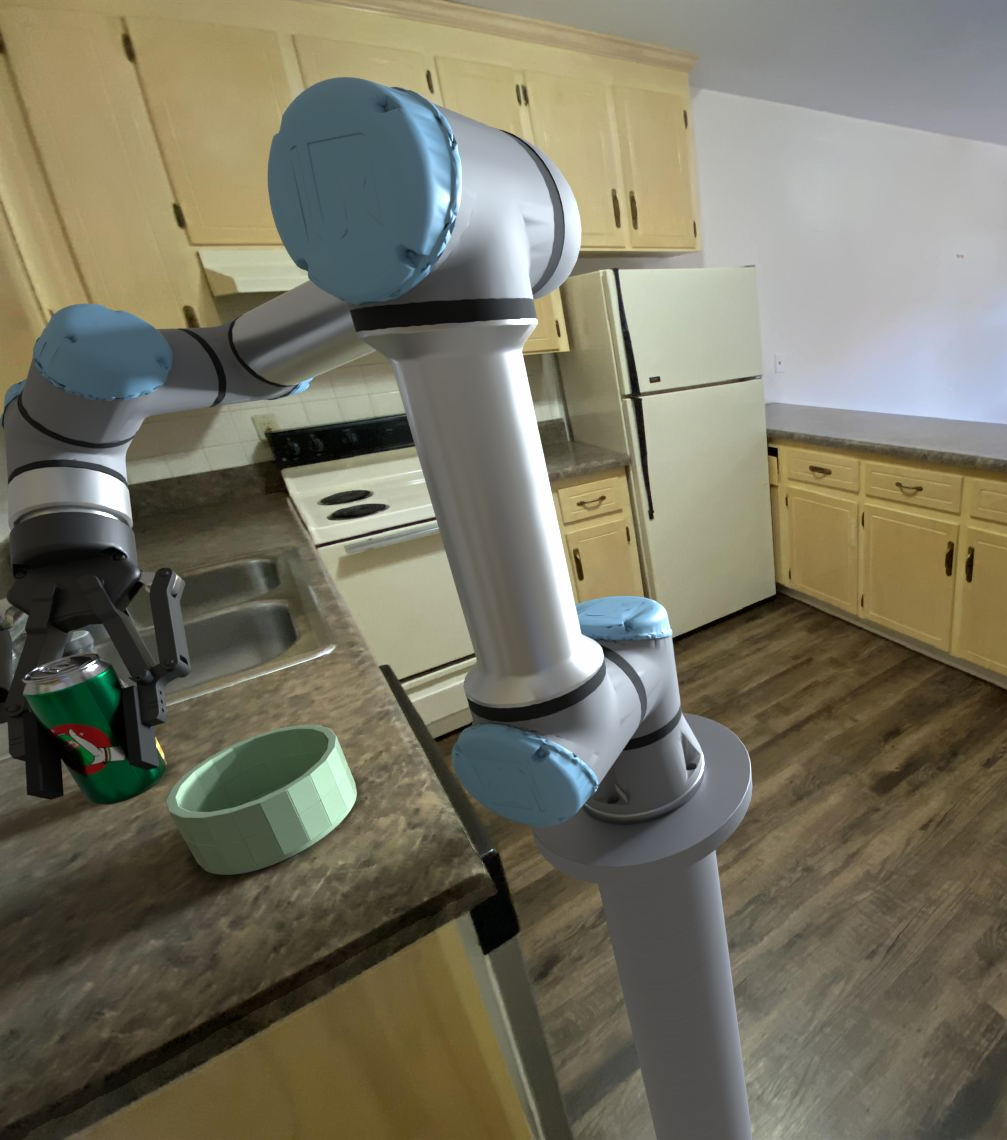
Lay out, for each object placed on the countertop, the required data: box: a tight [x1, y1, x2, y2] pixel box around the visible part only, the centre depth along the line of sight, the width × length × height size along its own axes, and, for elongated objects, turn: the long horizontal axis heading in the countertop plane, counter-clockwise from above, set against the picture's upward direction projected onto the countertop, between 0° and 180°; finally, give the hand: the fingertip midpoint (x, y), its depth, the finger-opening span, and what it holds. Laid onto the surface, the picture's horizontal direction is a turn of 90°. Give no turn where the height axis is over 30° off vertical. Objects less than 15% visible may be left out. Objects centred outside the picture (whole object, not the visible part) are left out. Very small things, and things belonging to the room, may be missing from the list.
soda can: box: [21, 652, 168, 806], centre depth 51 cm, size 5×5×12 cm
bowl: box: [165, 724, 358, 876], centre depth 68 cm, size 15×15×8 cm
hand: (96, 779), depth 49 cm, fingers closed on soda can, 5 cm apart
